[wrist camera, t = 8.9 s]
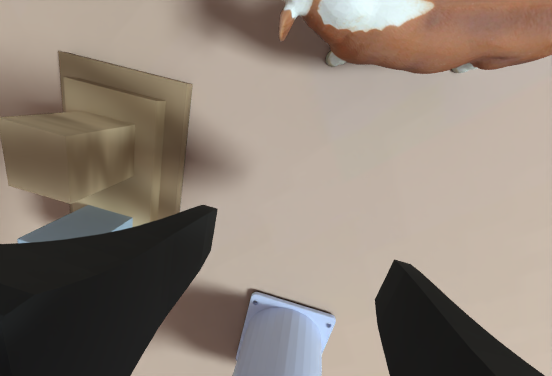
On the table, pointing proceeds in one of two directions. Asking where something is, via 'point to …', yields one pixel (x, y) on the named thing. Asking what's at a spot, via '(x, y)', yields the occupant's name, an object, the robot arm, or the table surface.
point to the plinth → (148, 132)
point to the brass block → (67, 153)
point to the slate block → (80, 225)
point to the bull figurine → (427, 32)
